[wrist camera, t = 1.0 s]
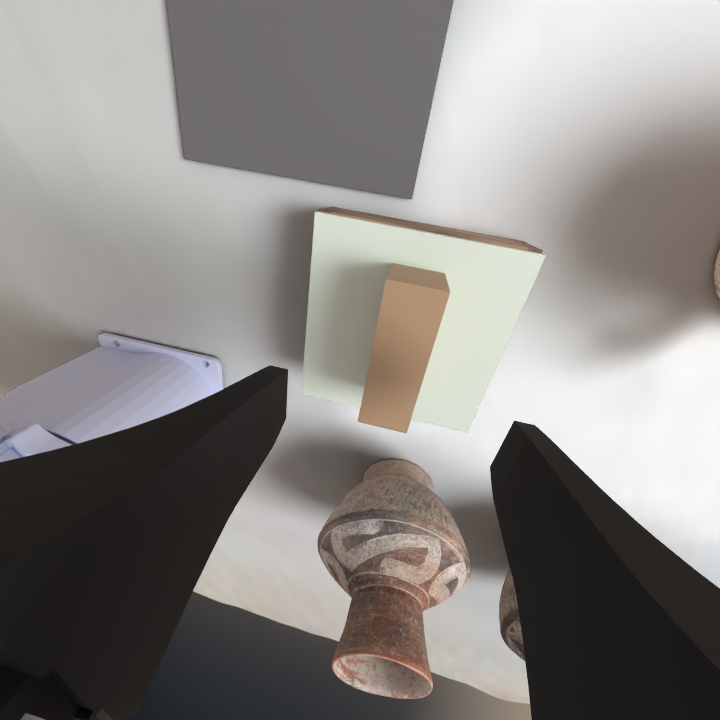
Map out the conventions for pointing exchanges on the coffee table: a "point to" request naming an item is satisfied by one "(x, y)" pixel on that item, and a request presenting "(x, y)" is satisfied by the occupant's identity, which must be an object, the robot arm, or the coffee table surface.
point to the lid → (409, 320)
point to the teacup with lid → (717, 275)
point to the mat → (309, 86)
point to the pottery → (397, 578)
